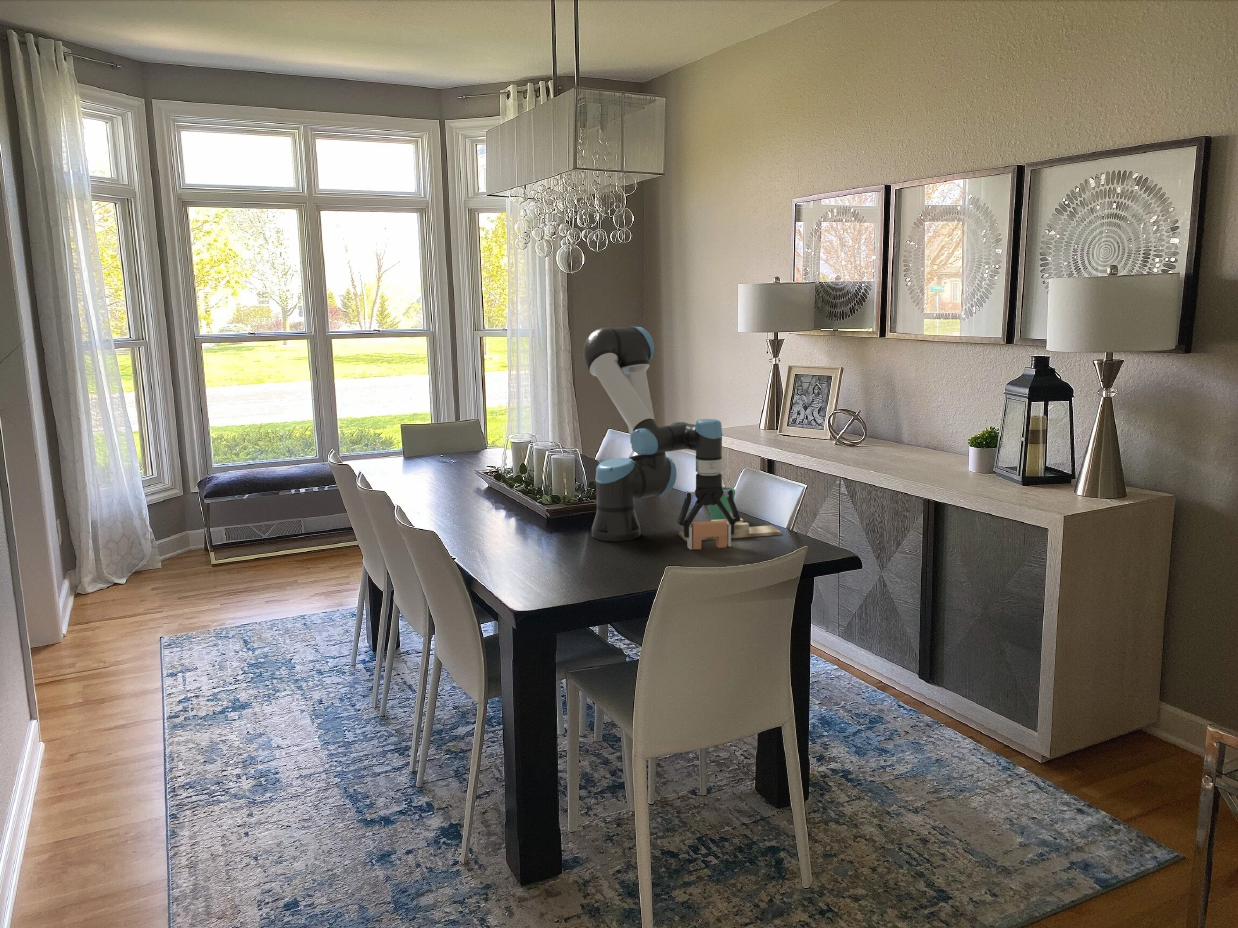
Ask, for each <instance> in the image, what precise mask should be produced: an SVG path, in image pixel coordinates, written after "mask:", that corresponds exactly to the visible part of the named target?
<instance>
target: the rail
mask: <svg viewBox="0 0 1238 928" xmlns="http://www.w3.org/2000/svg"><path fill="white" fill-rule="evenodd" d="M720 520H724V521H726V522H727V523H729V522H728V520H727V519H720ZM710 521H718V520H712V519H710ZM781 533H782V531H780V530H779V529H778V528H777V527H775V526H774V525H771V524H770V525H759V526H758V525H757V526H750V523H748V522H744V519H743V518H741V517H740V521H739V522H736V523H735V525H734V534H733V535H731V539H738V538H740V539H741V538H754V537H757V538H758V537H769V536H781V535H782V534H781ZM678 535H679V536H680V537H681V538H682V540H684V542H687V538H686V537H685V536H684V530H683V531H682V530H681V531H678ZM708 540H709V541H710V540H716V537H703V538H701V541H708Z"/></svg>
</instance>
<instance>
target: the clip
mask: <svg viewBox="0 0 1238 928" xmlns="http://www.w3.org/2000/svg"><path fill="white" fill-rule="evenodd" d="M690 526H691V527H692V549H691V550H701V549H702V540H701V538H703V537H716V539H715V541H716V542H715V545H716V546H715V547H717V548H718V549H721V548H727V547H728V546H727V522H726V521H724V520H718V521H711V520H706V521H692V523H691V524H690Z"/></svg>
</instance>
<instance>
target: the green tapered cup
mask: <svg viewBox="0 0 1238 928" xmlns="http://www.w3.org/2000/svg"><path fill="white" fill-rule="evenodd" d="M722 489H723V490H727V489H730V490H732V491H733V500H734V501H735V495H736V489H734V488H731V487H727V486H722ZM720 501H721V502H722V503H723V505H724V507H725V508H726V510H727V511H728V513H729V514H730V515H731V513H732V511H731V508H730V506H729V503H728V500H727V497H726V496H725V495H724V494H723V495H722V497H721V498H720ZM706 506H707V509H708V511H709V514H710V517H711V520H720V519H726V517H725V516H724V514H723V513H722V511H721V510H720V508H719V507H718V505H717V504H715V505H706Z"/></svg>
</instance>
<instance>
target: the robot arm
mask: <svg viewBox="0 0 1238 928" xmlns="http://www.w3.org/2000/svg"><path fill="white" fill-rule="evenodd" d="M582 351H583V352H582V353H583V354H582V355H583V360H584V363H585V365H586V368H587V370H588V371H589V373H590V374H591V375H592V376H593V377H597V379H598V381H599V383H600V384H601V386H602V387H603V389H604V390H605V392H606V393H607V395H608V397H609V398H610V399H611V402H612V403H613V404H614V405H615V407H616V410H617V411H618V412H619V414H620V416H621V417H622V419H623V420H624V422H625V423H626V425H627V427H628V432H629V441H630V442H629V443H630V445H631V453H630V454H629V456H628V457H619V458H610V459H607V460H603V461H602V462H600V463H598V465H597V466H596V469H595V479H594V480H595V486H596V487H595V488H596V489H595V490H596V491H595V492H596V514H595V517H594V519H593V523H592V526H591V537H592V538H593V539H595V540H598V541H604V542H625V541H631V540H634V539H637V538H639V537H641V533H642V532H641V530H642V529H641V526H640V523H639V519H638V516H637V513H636V511H635V500H640V499H643V498H651V497H658V496H661V495H665V494H668V493H669V492H671V491H672V489H674V486H675V484H676V480H677V477H678V476H677V474H678V473H677V468H676V467H677V466H676V463H675V462H674V461H673V459H672V458H671V457H669V456H666V453H667V452H673V451H674V452H675V451H681V450H689V451H694V452H695V472H696V474H695V490H694V491H687V490H686V491H685V492H684V501H683V504H682V507H681V509H680V512H679V515H678V518H677V525H679V526H682V527H683V531H684V536H685V537H686V538H687V541H686V543H687V544H686V545H687V546H686V547H687V549H689V550H693V549H692V527H691V523H692V522H694V519H695V518H696V516H698V515H697V514H698V513H699V512H700V510H701V508H702V507H703V506H707V505H715V504H717V505H718V507H719V508H720V510H721V511H722V513H723V514H724V516H725V517H726V519H727V520H728V522H729V523H727V547H732V538H731V535H733V534H734V525H735V523H736V522H739V521H740V518H741V517H740V515H739V512H738V508H737V505H736V503H735V499H734V500H733V491H732V490H730V489H727V490H723V489H722V487H723V474H722V471H723V466H722V465H723V459H722V458H723V456H722V455H723V429H722V428H723V427H722V422H721V421H720V420H719V419H716V418H714V419H713V418H702V419H698V420H696V421H695V424H693V423H688V422H685V421H681V422H678V421H677V422H675V421H674V422H672V423H671V424H670V425H661V426H659V424H658V423H657V421H656V419H655V415H654V409H653V404H652V398H651V392H650V387H649V382H648V381H649V380H648V376H647V371H648V369H649V368H650V361H651V360H652V359H653V358H654V353H655V344H654V340H653V338H652V336H651V334H650V333H649V331H647V330H646V329H645V328H643V327H641V326H632V325H628V326H614V327H613V326H612V327H601V328H597V329H595V330H594V331H592V332H591V333H590V334H589V335H588V336H587V337H586V339H585V341H584V345H583V350H582ZM723 494H724V495H725V496H726V497H727V500H728V503H729V506H730V508H731V513H730V514H729V513H728V511H727V510H726V508H725V507H724V505H723V503H722V502H721V501H720V498H721V497H722V495H723ZM694 497H696V501H695V503H694V505H693V507H692V508H691V510H690V512H689V509H690V506H691V502H692V500H693V499H694ZM688 512H689V513H688ZM731 514H732V515H731Z"/></svg>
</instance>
